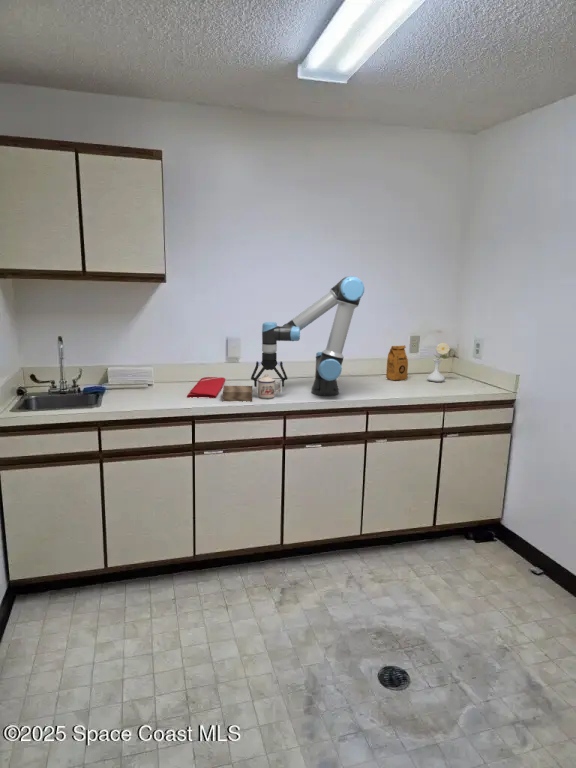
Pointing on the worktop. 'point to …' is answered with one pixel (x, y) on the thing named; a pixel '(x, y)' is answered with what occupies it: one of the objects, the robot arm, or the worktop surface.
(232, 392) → the walnut riser
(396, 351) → the coffee package
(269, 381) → the teacup with lid
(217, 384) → the dish drying mat
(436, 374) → the flower in vase
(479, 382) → the worktop surface
